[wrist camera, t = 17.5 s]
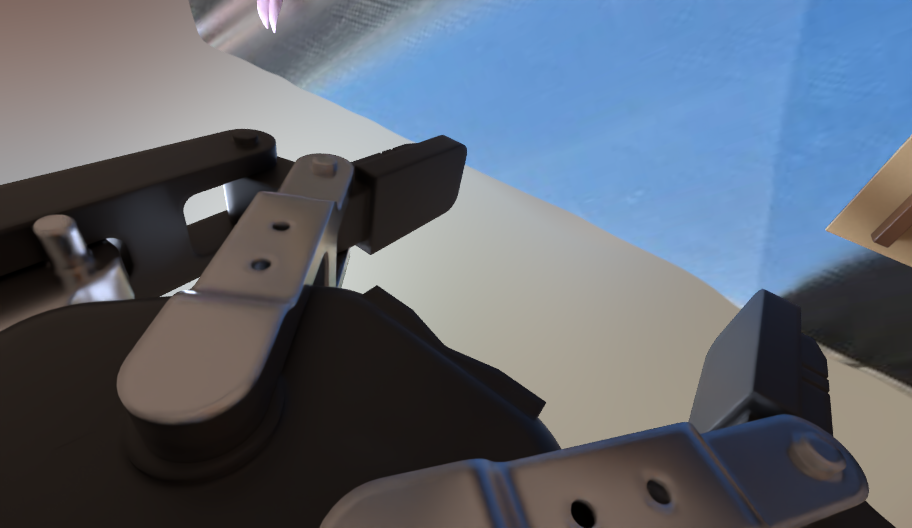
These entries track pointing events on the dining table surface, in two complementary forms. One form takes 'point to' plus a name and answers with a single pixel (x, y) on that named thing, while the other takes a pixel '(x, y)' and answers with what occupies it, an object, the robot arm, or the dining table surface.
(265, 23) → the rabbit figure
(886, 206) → the guide
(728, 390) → the robot arm
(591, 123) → the dining table surface
